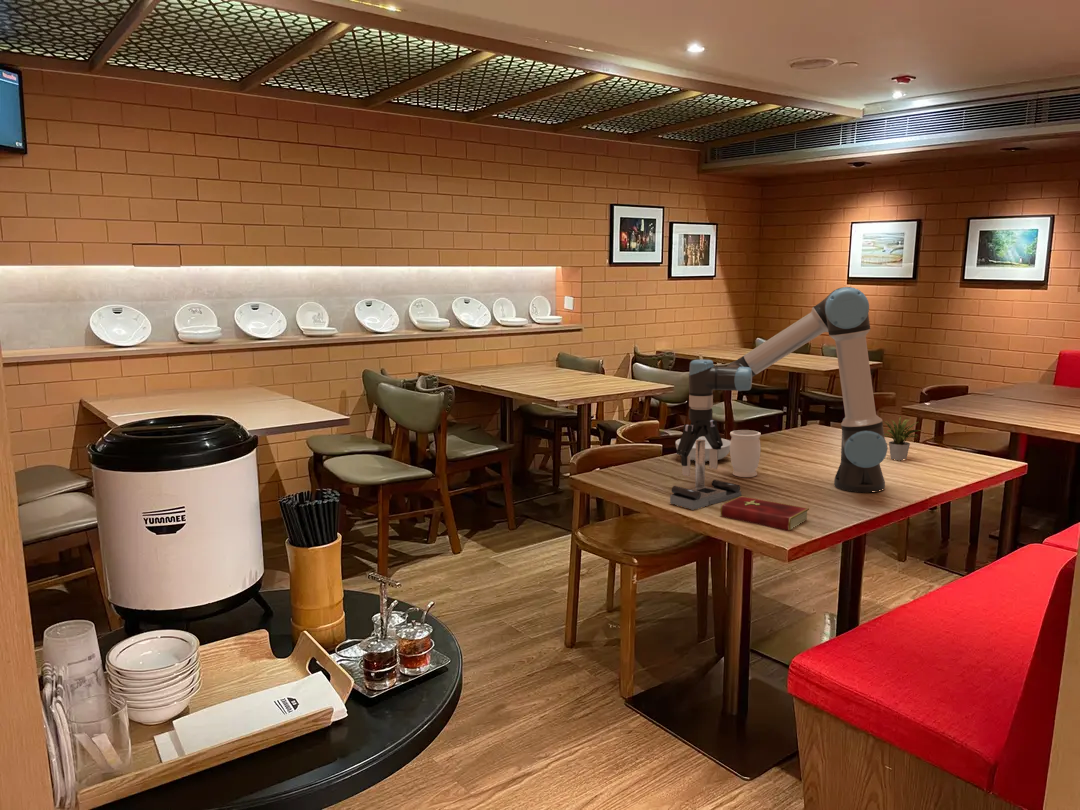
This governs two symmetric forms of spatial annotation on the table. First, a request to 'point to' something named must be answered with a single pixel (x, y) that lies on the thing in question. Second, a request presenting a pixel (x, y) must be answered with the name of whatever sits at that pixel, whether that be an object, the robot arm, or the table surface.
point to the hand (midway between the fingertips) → (699, 471)
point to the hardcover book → (764, 512)
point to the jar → (745, 452)
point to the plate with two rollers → (704, 494)
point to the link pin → (700, 463)
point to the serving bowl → (708, 449)
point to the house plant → (900, 439)
